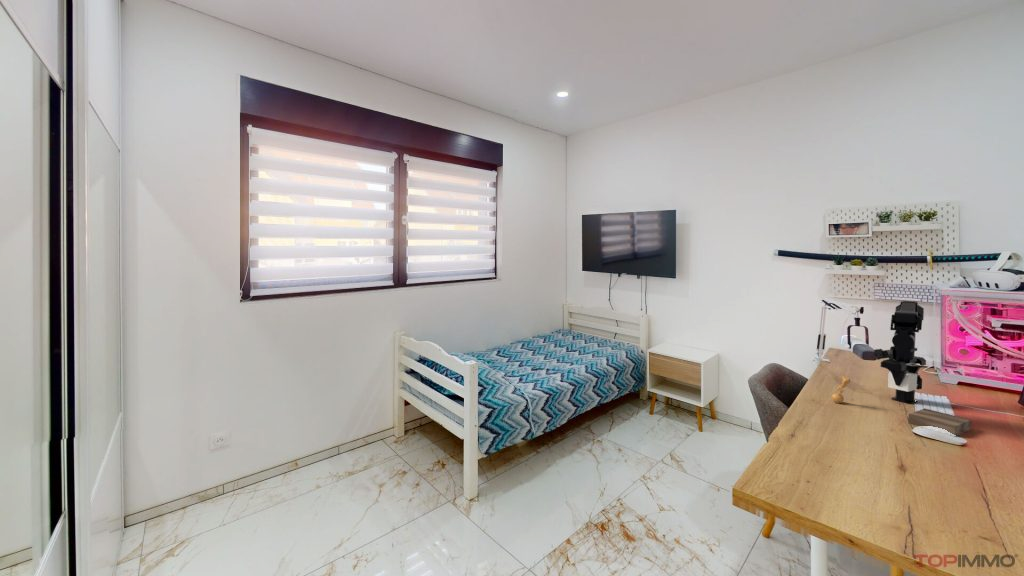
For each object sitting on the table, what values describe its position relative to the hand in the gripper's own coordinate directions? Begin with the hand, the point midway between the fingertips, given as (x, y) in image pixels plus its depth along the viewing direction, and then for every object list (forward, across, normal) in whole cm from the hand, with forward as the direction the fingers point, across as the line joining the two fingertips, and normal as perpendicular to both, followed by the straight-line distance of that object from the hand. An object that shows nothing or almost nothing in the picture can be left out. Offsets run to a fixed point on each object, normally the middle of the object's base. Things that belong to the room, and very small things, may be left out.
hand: (902, 384), depth 151 cm
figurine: (+12, +7, -17) cm, 22 cm away
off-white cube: (+2, 0, 0) cm, 2 cm away
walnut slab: (+12, +1, +11) cm, 17 cm away
